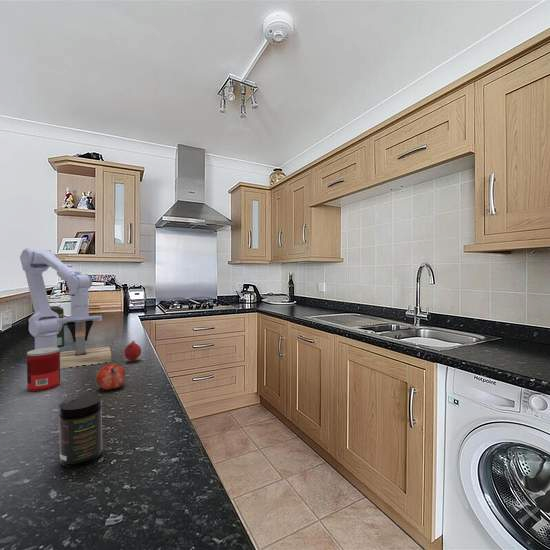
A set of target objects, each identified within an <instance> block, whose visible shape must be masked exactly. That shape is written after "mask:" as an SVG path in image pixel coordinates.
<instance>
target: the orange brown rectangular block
mask: <svg viewBox="0 0 550 550" xmlns="http://www.w3.org/2000/svg"><path fill="white" fill-rule="evenodd" d="M85 332H86V330H84V331H75V337H76V342H75V351H76V354H81V353H85V349H86V341H85Z"/></svg>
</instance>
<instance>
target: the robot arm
mask: <svg viewBox="0 0 550 550" xmlns="http://www.w3.org/2000/svg"><path fill="white" fill-rule="evenodd" d="M19 259H20V263H21V268H22V271H23V272H24V273H25V277H26V282H27V285H28V289H29V294H30V298H31V302H32V307H33V311H34V313H33V314H32V315H31V316H30V317H29V318H28V332H29V333H30V335H31V336H32V337H33V338H34V350H35V349H40V348H48V347H57V334H59V331H60V330H61V328H62V324H64V325H65V324H66V327H67V328H68V329H69V332H70V333H71V337H72V339H73V341H72V342H73V343H76V337H75V333H76V323H84V324H85V327H84V328H85V342H87V341H88V338H89V337H88V336H89V333H90V330H91V328H92V326H93V324H94V323H93V322H102V321H103V316H102V314H101V315H90V311H89V290H90V289H91V287H92V285H93V280H92V277H91V276H90V274H89V273H81V271H80V270H77V269H76V268H75V267H74V265H72V264H70V263H69V264H68V263H65V264H64V263H63V262H62V260H60V259H59V258H58V257H57V256H56V253H55V252H53V251H52V250H51V249H38V248H37V249H35V248H24V249H23V250H22V252H21V254H20V256H19ZM49 268H52V269H53V270H55V271H56V274H57V276H58V277H59V278H60V279H62V280H63V281H65V283H66V286H67V288H68V293H69V295H70V312H71V313H70V317H64V318H59V317H58V314H57V313H56V312H54V311H52V310H51V309H50V306H51V305H50V302H49V297H48V293H47V290H46V289H47V288H46V285H45V284H46V283H45V282H44V281H45V280H44V277H43V273H44V272H46V271H48V269H49ZM57 348H58V347H57Z"/></svg>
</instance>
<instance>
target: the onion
mask: <svg viewBox="0 0 550 550" xmlns="http://www.w3.org/2000/svg"><path fill="white" fill-rule="evenodd" d="M123 353H124V357H125V358H126V359H127V360H128V361H130V362H133V361H134V362H135V361H136V360H137V359H138V358H140V356H141V354H142V347H140V345H139V344H137V343H136V341H135V340H131V342H130V343H129V344H128V345H127V346H126V347H125V349H124V352H123Z"/></svg>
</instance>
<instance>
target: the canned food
mask: <svg viewBox="0 0 550 550" xmlns="http://www.w3.org/2000/svg"><path fill="white" fill-rule="evenodd" d="M60 352H61V350H60V348H59V347H48V348H40V349H35V348H34V349H32V350H29V351H27V353H26V388H27V389H28V391H30V392H42V391H41V390H43V391H47V389H48V390H51V389H54V388H56V387H58V386H59V385H60V383H61V369H60Z"/></svg>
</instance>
